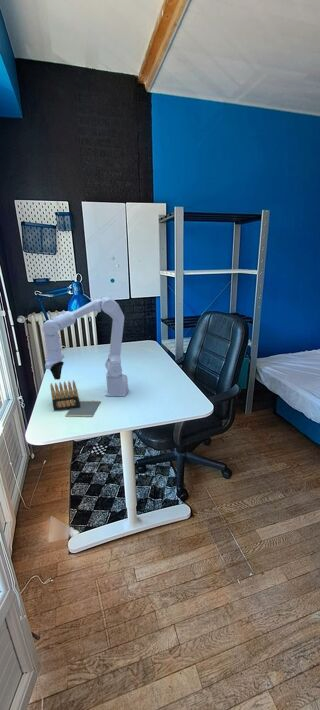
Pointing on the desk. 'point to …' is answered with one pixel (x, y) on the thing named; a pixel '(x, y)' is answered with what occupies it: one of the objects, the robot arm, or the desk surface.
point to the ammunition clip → (65, 397)
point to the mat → (84, 409)
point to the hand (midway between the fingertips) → (57, 378)
